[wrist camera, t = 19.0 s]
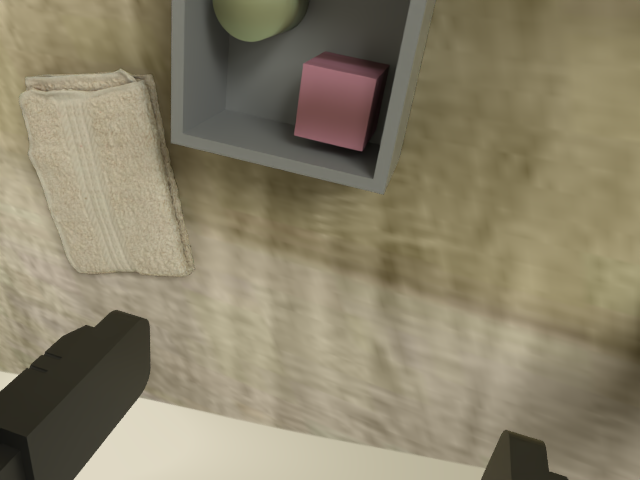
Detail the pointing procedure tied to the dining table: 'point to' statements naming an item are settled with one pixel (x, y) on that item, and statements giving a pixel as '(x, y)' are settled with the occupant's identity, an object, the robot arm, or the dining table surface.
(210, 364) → the dining table surface
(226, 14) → the green cylinder
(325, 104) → the pink cube
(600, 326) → the dining table surface
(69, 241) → the washcloth
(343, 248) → the dining table surface
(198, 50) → the bin
